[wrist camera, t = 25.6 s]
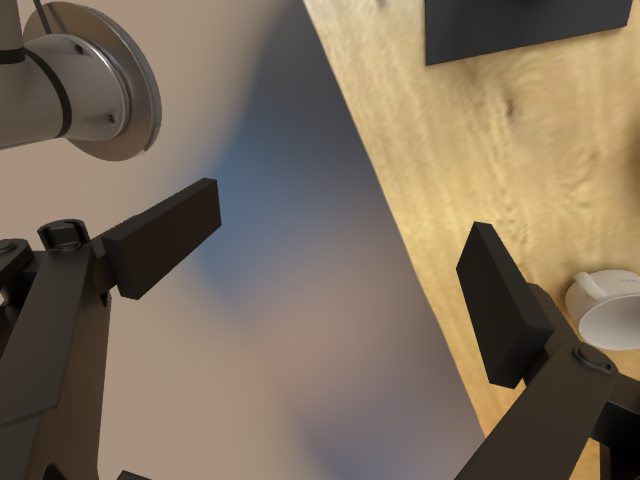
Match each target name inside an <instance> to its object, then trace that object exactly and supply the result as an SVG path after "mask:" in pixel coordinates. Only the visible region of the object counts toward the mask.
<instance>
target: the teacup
mask: <svg viewBox="0 0 640 480" xmlns="http://www.w3.org/2000/svg"><path fill="white" fill-rule="evenodd" d="M574 279H575V281H576V282H574V283H573V284H572V285H571V287H570V288H569V289H568V291H567V294H566V297H565V303H566V307H567V310H568V312H569V314H570V316H571V318H572V320H573V322H574V324H575V325H576V327H577V329H578V332H579V334H580V336H581V337H582V338H583V340H585V341H586V342H587V343H589V344H591V345H593V346H595V347H598V348H601V349H605V350H613V351H628V350H637V349H640V275H638V274H635V273H633V272H629V271H624V270H602V271H597V272H594V273H590V274H587V273H586V272H579V273H577V274H576V275H575V276H574Z"/></svg>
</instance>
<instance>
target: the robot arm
mask: <svg viewBox="0 0 640 480" xmlns="http://www.w3.org/2000/svg"><path fill="white" fill-rule="evenodd" d="M33 1H34V4H35V6H36V9H37V11H38V14H39V17H40V19H41V22H42V24H43V27H44V29H45V32H46V34H47V35H45V36H42V37H40V38H37V39H34V40H31V41H28V42H25V43H24V42H23V36H22V30H21V24H20V18H19V12H18V6H17V0H0V150H4V149H8V148H13V147H18V146H22V145H27V144H31V143H36V142H41V141H45V140H50V139H55V138H59V137H63V138H71V139H79V140H88V141H105V140H109V139H113V138H115V137H117V136H119V135H120V134H122V132H123V131H124V130H125V128H126V127H127V124H128V121H129V117H130V102H129V97H128V92H127V89H126V86H125V84H124V81H123V79H122V77H121V75H120V73H119V71H118V70H117V68H116V67H115V65H114V64H113V62H112V61H111V60H110V58H109V57H108V56H107V55H106V54H105V53H104V52H103V51H102V50H101V49H100V48H99V47H98V46H96V45H95V44H94V43H92V42H91V41H89V40H87V39H85V38H83V37H81V36H78V35H73V34H64V33H55V34H52V31H51V29H50V26H49V24H48V21H47V19H46V16H45V13H44V11H43V8H42V6H41V3H40V0H33ZM220 226H221V216H220V206H219V197H218V187H217V180H215V179H208V178H202V179H201V180H199V181H197V182H195V183H194V184H192V185H190V186H188V187H187V188H185V189H183V190H182V191H180V192H178V193H176V194H174V195H173V196H171V197H169V198H167V199H165V200H164V201H162V202H160V203H158V204H157V205H155V206H153V207H152V208H150V209H148V210H146V211H144V212H143V213H141V214H139V215H135V216H132V217H131V218H129V219H127V220H125V221H124V222H123V223H120V224H118V225H116V226H115V227H113V228H111V229H109V230H107V231H106V232H104V233H102V234H100V235H98V236H97V237H95V238H93V239H91V240H90V237H89V235H88V232H87V229H86V227H85V224H84V222H83V221H81V220H77V219H65V220H58V221H54V222H51V223H48V224H46V225H44V226H42V227H40V228H39V229H38V230H37V232H38V234H39V236H40V239H41V241H42V243H43V245H44V247H45V249H46V251H32V249H31V247H30V245H29V243H28V242H27V240H24V239H4V240H2V241H0V293H1V295H2V297H3V298H4V300H5V301H4V302H3V303H2V304H1V305H0V480H99V477H98V470H97V459H98V448H99V437H100V425H101V414H102V401H103V391H104V379H105V367H106V356H107V345H108V333H109V322H110V311H111V299H112V297H111V294H110V291H109V290H110V289H111V288H113V287H114V286H115V285H117V287H118V289H119V292H120V295H121V296H122V297H126V298H130V299H135V300H139V299H140V298H141V297H142V296H143V295H144V294H145V293H146V292H147V291H149V290H150V289H151V288H152V287H153V286H154V285H155V284H156V283H157V282H159V281H160V280H161V279H162V278H163V277H164V276H165V275H167V274H168V273H169V272H170V271H171V270H172V269H173V268H174V267H175V266H176V265H178V264H179V263H180V262H181V261H182V260H183V259H184V258H185V257H187V256H188V255H189V254H190V253H191V252H192V251H193V250H194V249H195V248H197V247H198V246H199V245H200V244H201V243H202V242H203V241H204V240H206V239H207V237H209V236H210V235H211V234H212V233H213V232H214V231H216V230H217V229H218V228H219V227H220ZM456 271H457V274H458V278H459V281H460V284H461V288H462V291H463V295H464V298H465V302H466V305H467V308H468V312H469V315H470V319H471V322H472V325H473V329H474V332H475V336H476V339H477V342H478V346H479V349H480V353H481V356H482V360H483V363H484V366H485V370H486V373H487V377H488V380H489V383H490V384H494V385H499V386H503V387H507V388H511V389H515V388H516V386H517V385H518V383H519V382H520V380H521V379H522V377H523V380H524V382H525V385H526V388H525V390H524V391H523V392H522V394H521V395H520V396H519V397H518V399H517V400H516V401H515V402H514V404H513V405H512V406H511V408H510V409H509V410H508V411H507V413H506V414H505V415H504V416H503V418H502V419H501V420H500V422H499V423H498V424H497V425H496V427H495V428H494V429H493V430H492V432H491V433H490V434H489V436H488V437H487V438H486V439H485V441H484V442H483V443H482V444H481V446H480V447H479V448H478V450H477V451H476V452H475V453H474V455H473V456H472V457H471V459H470V460H469V461H468V462H467V464H466V465H465V466H464V467H463V469H462V470H461V471H460V472H459V474H458V475H457V476H456V478H455V479H454V480H569V478H570V476H571V474H572V472H573V469H574V467H575V465H576V463H577V461H578V459H579V457H580V455H581V453H582V451H583V449H584V447H585V445H586V443H587V441H588V438H589V437H590V438H592V439H594V440H596V441H598V442H600V480H640V381H638V380H635V379H633V378H630V377H628V376H626V375H623V374H621V373H619V372H618V369H617V367H616V366H615V364H614V362H612V361H611V360H610V359H609V358H608V357H607V356H606V355H605V354H604V353H602V352H601V351H599V350H598V349H596V348H594V347H592V346H590V345H588V344H586V343H584V342H581V341H580V340H579V338H578V337H577V335H576V334H575V332H574V331H573V329H572V328H571V326H570V325H569V323H568V322H567V320H566V319H565V317H564V316H563V315H561V312H560V310H559V309H558V307H557V306H556V304H555V303H554V301H553V300H552V298H551V297H550V295H549V294H548V293H547V292H546V291H544V290H543V289H542V288H541V287H540V286H538V285H537V284H532V283H527V282H526V281H525V279H524V277H523V276H522V274H521V272H520V271H519V269H518V267H517V266H516V264H515V262H514V261H513V259H512V257H511V256H510V254H509V252H508V251H507V249H506V247H505V246H504V244H503V242H502V241H501V239H500V238H499V236H498V234H497V233H496V231H495V229H494V228H493V226H492V224H487V223H481V222H475V221H474V223H473V226H472V228H471V231H470V234H469V236H468V239H467V241H466V244H465V246H464V249H463V252H462V254H461V257H460V259H459V262H458V264H457V267H456ZM117 480H151V479H148V478H145V477H142V476H139V475H136V474H133V473H130V472H127V471H124V470H123V471H122V472H121V474H120V475H119V477H118V478H117Z"/></svg>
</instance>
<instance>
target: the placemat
mask: <svg viewBox="0 0 640 480" xmlns="http://www.w3.org/2000/svg"><path fill="white" fill-rule="evenodd" d="M632 1H633V0H425V20H426V66H428V65H433V64H438V63H443V62H448V61H453V60H458V59H463V58H468V57H473V56H478V55H483V54H488V53H493V52H498V51H503V50H508V49H513V48H519V47H524V46H529V45H534V44H539V43H544V42H549V41H554V40H559V39H564V38H569V37H574V36H579V35H584V34H589V33H594V32H599V31H604V30H609V29H614V28H619V27H624V26H626V25H627V22H628V18H629V14H630V9H631V5H632Z"/></svg>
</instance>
